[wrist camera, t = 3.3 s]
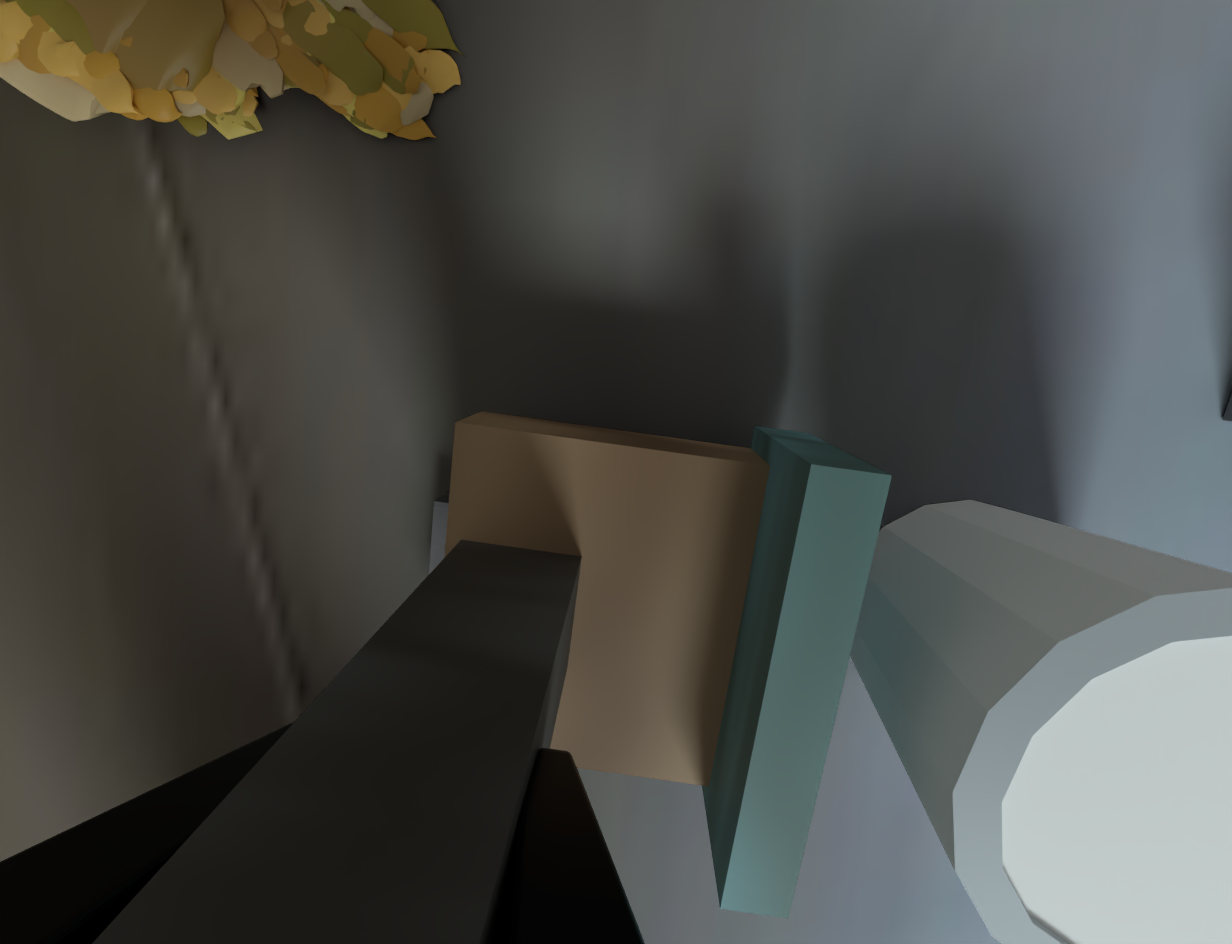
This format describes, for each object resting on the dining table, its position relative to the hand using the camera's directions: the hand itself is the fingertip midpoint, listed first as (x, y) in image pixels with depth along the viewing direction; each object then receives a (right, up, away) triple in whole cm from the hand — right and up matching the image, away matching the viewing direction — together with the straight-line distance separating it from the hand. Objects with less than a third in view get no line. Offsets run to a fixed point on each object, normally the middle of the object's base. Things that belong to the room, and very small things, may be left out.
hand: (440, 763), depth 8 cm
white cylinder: (+11, 0, +8) cm, 13 cm away
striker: (+2, +1, +7) cm, 7 cm away
